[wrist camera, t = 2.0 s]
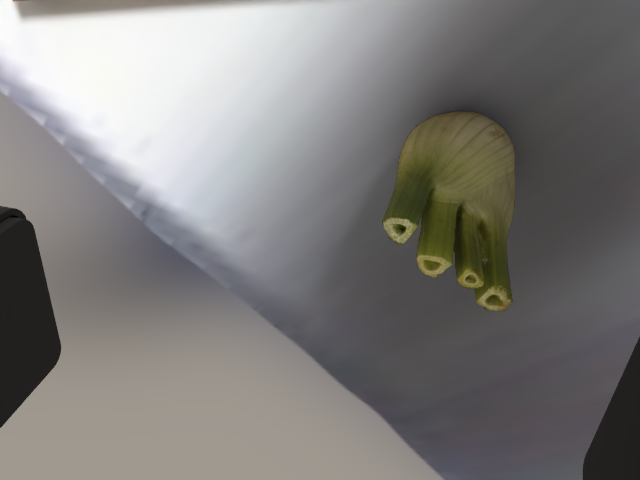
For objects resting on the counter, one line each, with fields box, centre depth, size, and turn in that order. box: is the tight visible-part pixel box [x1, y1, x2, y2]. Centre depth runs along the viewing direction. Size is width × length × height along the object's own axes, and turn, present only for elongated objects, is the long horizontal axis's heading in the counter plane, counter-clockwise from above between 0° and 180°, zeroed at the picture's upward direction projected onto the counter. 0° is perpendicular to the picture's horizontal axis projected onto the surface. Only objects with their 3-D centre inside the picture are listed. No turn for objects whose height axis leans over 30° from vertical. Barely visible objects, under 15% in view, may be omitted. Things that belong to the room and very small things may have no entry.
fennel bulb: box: [382, 111, 515, 311], centre depth 26 cm, size 6×5×12 cm
